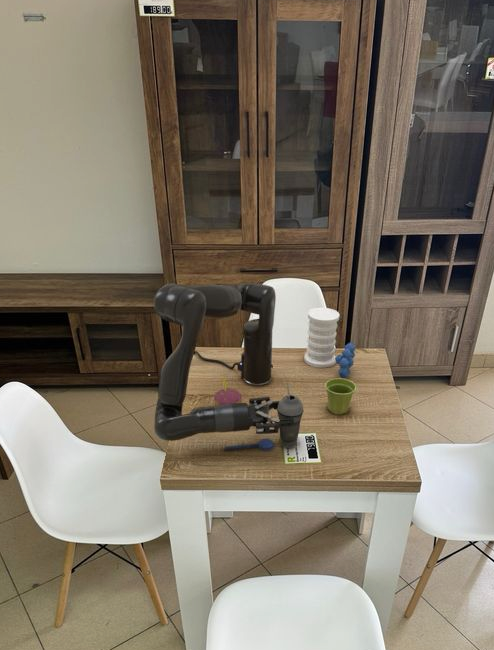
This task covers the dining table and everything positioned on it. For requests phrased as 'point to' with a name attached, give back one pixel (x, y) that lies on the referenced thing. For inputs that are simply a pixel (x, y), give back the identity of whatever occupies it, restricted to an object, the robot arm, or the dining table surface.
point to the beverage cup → (290, 409)
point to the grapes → (346, 360)
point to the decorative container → (321, 337)
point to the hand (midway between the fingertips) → (290, 412)
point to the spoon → (255, 445)
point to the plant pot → (339, 394)
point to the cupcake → (227, 396)
